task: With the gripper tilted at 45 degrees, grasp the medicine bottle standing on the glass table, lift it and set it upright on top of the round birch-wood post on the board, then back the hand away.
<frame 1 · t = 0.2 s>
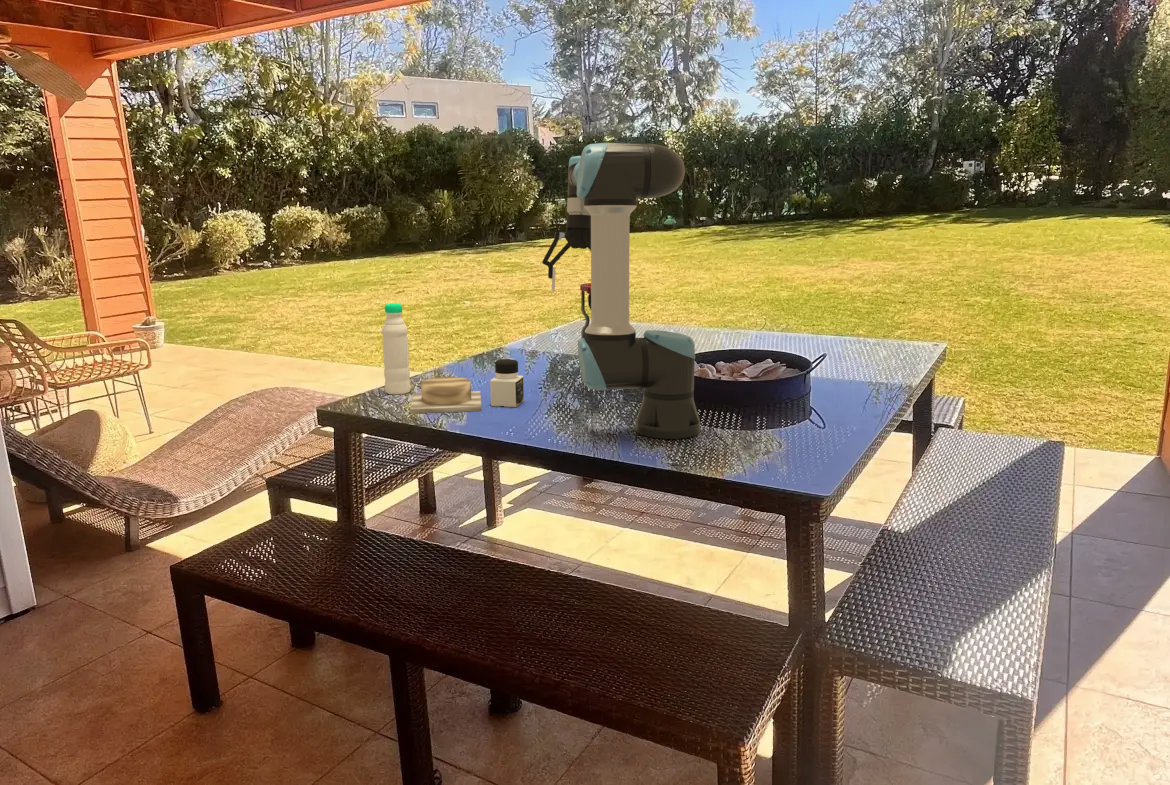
hand: (577, 291, 232), 28 cm above the table, tool pointing down, fingers open, 13 cm apart
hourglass: (603, 357, 286), on the table
post stand: (446, 403, 220), on the table
medicine bottle: (507, 404, 220), on the table
water bottle: (398, 393, 234), on the table
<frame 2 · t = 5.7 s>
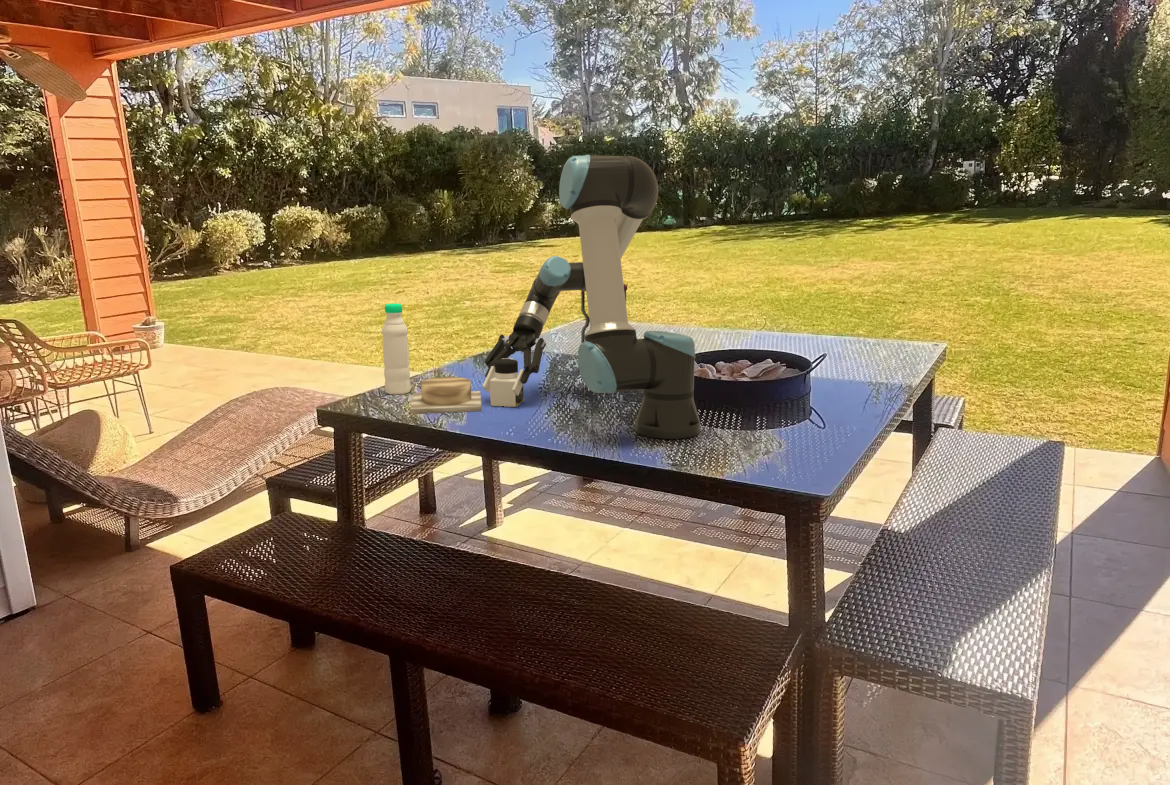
hand: (500, 390, 216), 4 cm above the table, tool tilted 45°, fingers closed on medicine bottle, 8 cm apart
medicine bottle: (507, 404, 220), on the table, touching gripper
everything else where it was.
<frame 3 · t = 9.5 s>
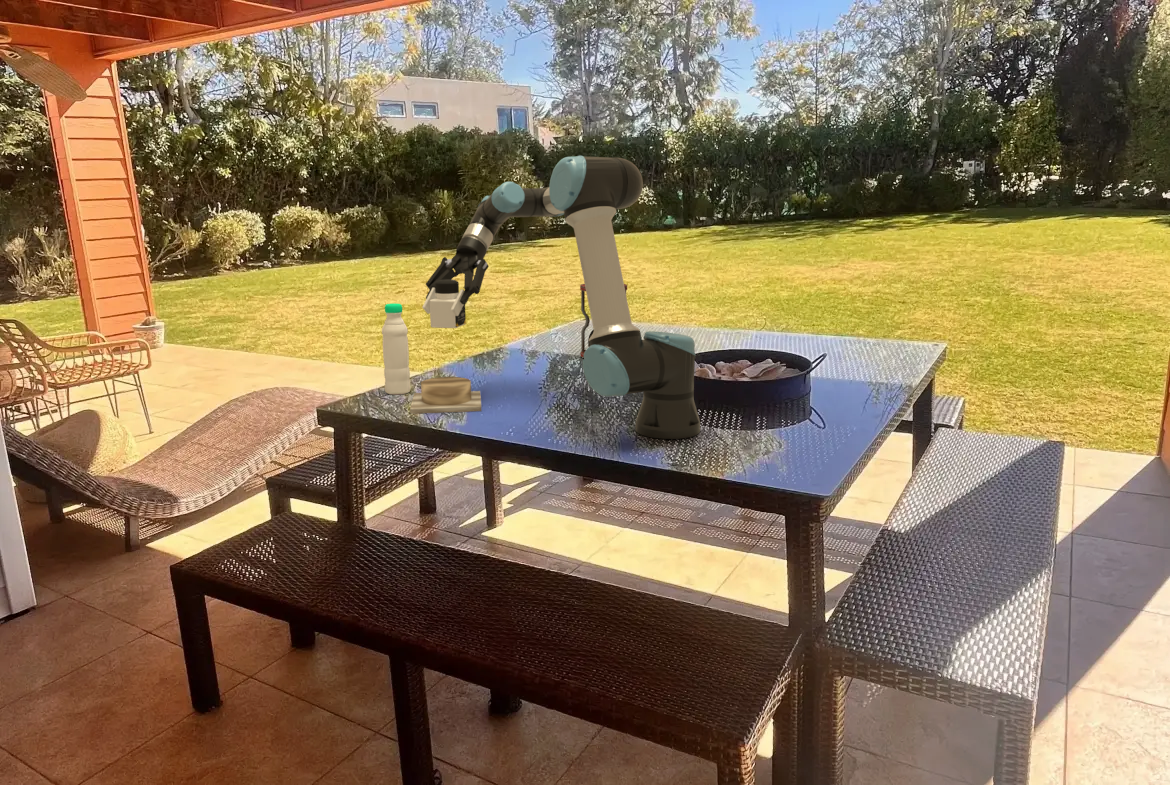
hand: (440, 311, 212), 25 cm above the table, tool tilted 45°, fingers closed on medicine bottle, 8 cm apart
medicine bottle: (448, 326, 216), point 21 cm above the table, touching gripper
everything else where it was.
when the fingers open (12 cm above the table, at t = 13.3 s): medicine bottle drops 1 cm, resting on post stand.
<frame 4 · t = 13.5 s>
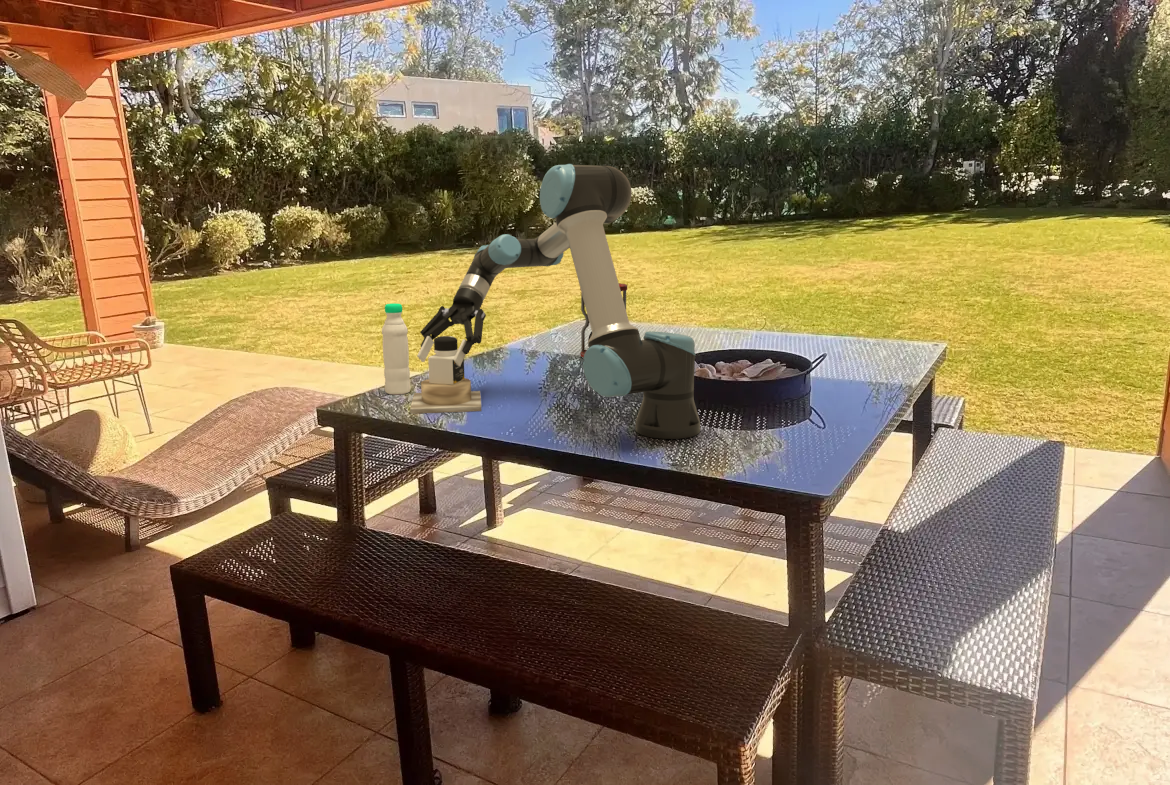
hand: (438, 360, 215), 12 cm above the table, tool tilted 45°, fingers open, 11 cm apart
medicine bottle: (447, 382, 219), point 6 cm above the table, touching post stand
everything else where it was.
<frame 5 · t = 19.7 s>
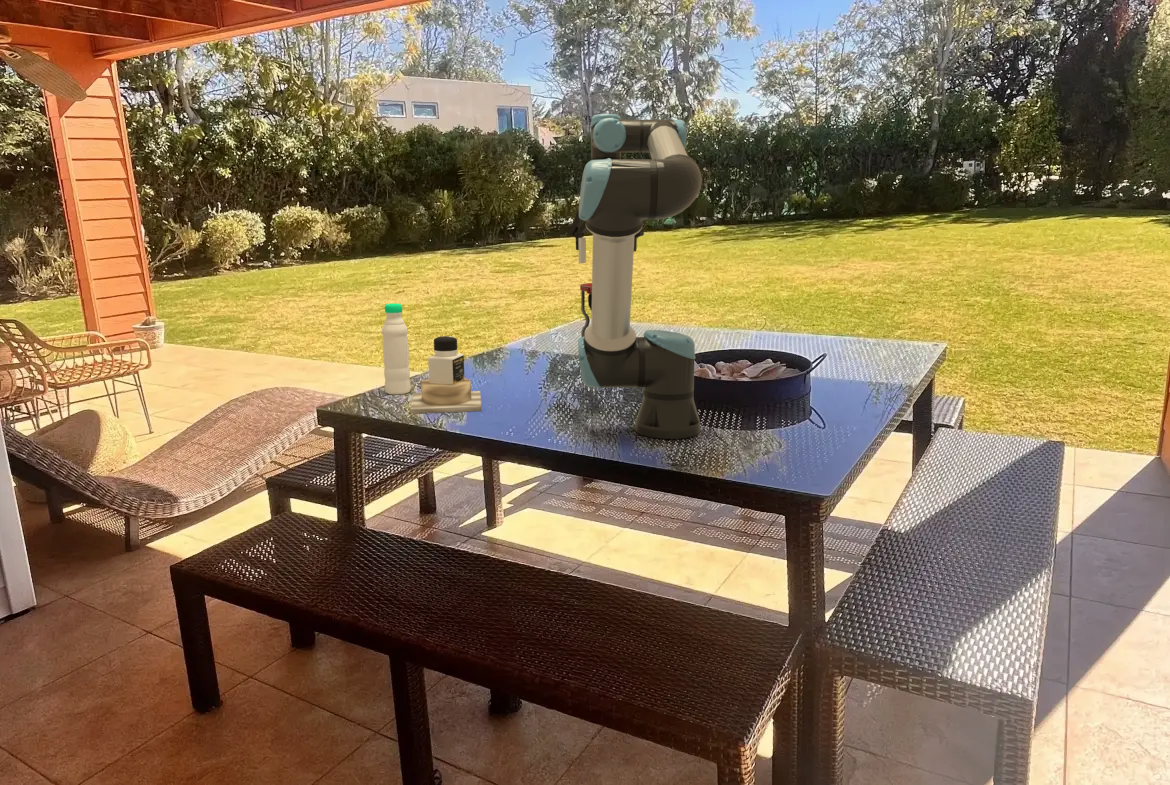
hand: (605, 264, 213), 37 cm above the table, tool pointing down, fingers open, 13 cm apart
nothing on the table moved.
at the end: medicine bottle inside the target area on the post stand (0.3 cm from its centre), point 5.8 cm above the post stand's base; medicine bottle tilted 0°; the gripper is holding nothing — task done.
